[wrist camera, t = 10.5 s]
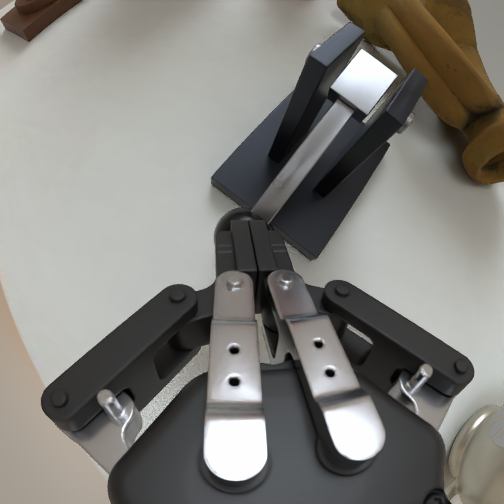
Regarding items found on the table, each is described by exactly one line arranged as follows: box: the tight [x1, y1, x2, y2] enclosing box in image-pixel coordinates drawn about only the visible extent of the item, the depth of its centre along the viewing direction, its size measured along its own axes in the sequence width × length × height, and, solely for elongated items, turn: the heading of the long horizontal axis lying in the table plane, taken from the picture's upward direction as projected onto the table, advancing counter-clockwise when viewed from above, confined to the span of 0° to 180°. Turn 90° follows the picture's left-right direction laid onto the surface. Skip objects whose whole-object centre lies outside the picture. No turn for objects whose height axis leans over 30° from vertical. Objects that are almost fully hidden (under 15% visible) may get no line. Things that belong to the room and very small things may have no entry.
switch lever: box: [214, 49, 398, 244], centre depth 15 cm, size 13×3×3 cm, turn 143°
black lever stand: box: [211, 22, 428, 260], centre depth 17 cm, size 12×9×12 cm
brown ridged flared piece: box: [337, 0, 504, 184], centre depth 21 cm, size 18×13×22 cm
